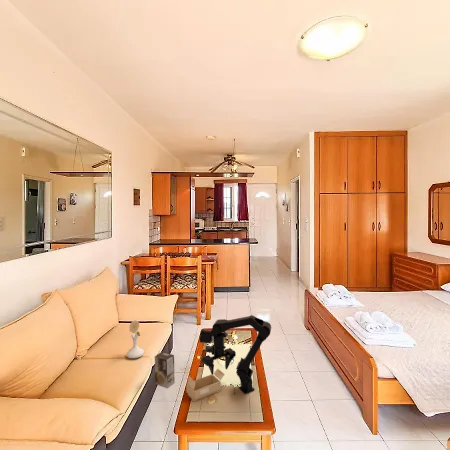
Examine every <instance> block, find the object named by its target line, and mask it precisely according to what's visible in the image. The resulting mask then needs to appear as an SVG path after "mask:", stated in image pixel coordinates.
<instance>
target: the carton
mask: <svg viewBox="0 0 450 450" xmlns="http://www.w3.org/2000/svg"><path fill="white" fill-rule="evenodd" d="M194 381H195V382H196V383H195V388H194V390H193V389H192V388H191V387H190V386H189V385H188V382H187V383H186V394H187V393H188V394H187V396H188V397H189V398H190V399H191V400H192V402H197V401H199V400H201V399H204V398H206V397H208V396H210V395H213V394H215V393H219V392H220V391H221V390H222V389H221V387H222V385H221V380H219V379H218V378H217V377H216V376H215V375H214V374H213V375H212V374H211V373H210V374H209V375H206V376H203V377H200V378H198V379H195V380H194Z"/></svg>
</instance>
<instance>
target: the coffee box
mask: <svg viewBox="0 0 450 450" xmlns="http://www.w3.org/2000/svg"><path fill="white" fill-rule="evenodd" d="M154 373H155V374H154V375H155V377H154V378H155V385H157V386H160V387H161V388H165V389H169V388H170V387H171V386H173V385H174V384H175V383H176V382H175V379H176V378H175V355H174V354H172V353H168V352H165V351H161V352H159V353H158V354H156V355H155V356H154Z"/></svg>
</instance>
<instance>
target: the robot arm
mask: <svg viewBox="0 0 450 450" xmlns="http://www.w3.org/2000/svg"><path fill="white" fill-rule="evenodd" d="M246 326H250V327H252V328H253V330H255V331H256V332H257V336H256V337H255V339H254V341H253V343H252V345H251V347H250V349H249V350H248V352H247V354H246V356H245V357H240V361H238V363H237V365H236V368H235V370H236V372H235V373H236V376H237V377H238V378H239V380H240V381H239V383H240V386H238V390H239V391H241V392H242V393H243V394H244V395H247V394H249V393H251V392H255V390H256V389H255V388H254V387H253V378H252V376H253V374H254V373H253V372H254V371H253V370H252V368H251V364H252V362H253V359H255V356H256V355H257V353H258V351H259V350H260V348H261V345H262V344H263V342H264V341H266V340H267V339H268V337H269V336H271V330H272V325H271V323H270V322H268V321H265V320H263V319H261V318H258V317H257V316H254V315H252V314H251V315H248V316H243V317H238V318H235V319H234V318H232V319H222V318H220V319H216V320H215V322H214V323H213V324H212V328H211V330H206V329H201V330H200V334H199V335H200V336H199V343H200V344H211V343H212V342H213V344H212V345H206V346H205V352H206V353H209V354H207V355H205V356H202V358H201V362H202V363H203V364H204V365H205V366H206V367H208V369H209V373H210V375H211V374H212V375H214V374H213V373H214V372H215V371H214V368H215V364H214V361H216V360H219V359H222V358H224V361H225V362H224V366H225V370H228V368H229V366H230V364H231V362H232V361H233V359H234V358H236V357H237V356H236V355H237V353H236V351H235V350H234V349H233V348H231V347H229V348H226V346H225V339H226V338H227V337H228V335H229V334H228V332H226V331H228V330H232V329H235V328H236V329H237V328H239V327H240V328H241V327H246ZM210 353H211V355H213V356H211V355H210Z"/></svg>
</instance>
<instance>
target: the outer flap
mask: <svg viewBox="0 0 450 450" xmlns="http://www.w3.org/2000/svg"><path fill="white" fill-rule="evenodd" d="M187 383H188V385H189V386H190V387H191V388H192V389H193V390H194V388H195V383H196V382H195V380H194V379H193V378H191V376H189V375H188V378H187Z"/></svg>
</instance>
